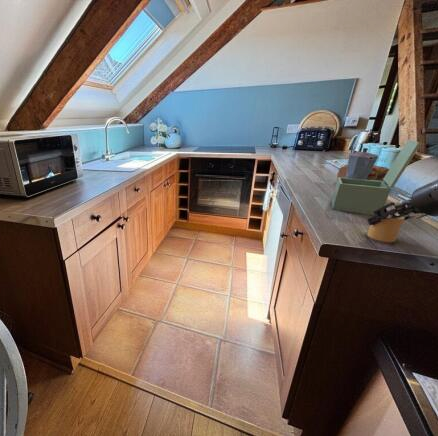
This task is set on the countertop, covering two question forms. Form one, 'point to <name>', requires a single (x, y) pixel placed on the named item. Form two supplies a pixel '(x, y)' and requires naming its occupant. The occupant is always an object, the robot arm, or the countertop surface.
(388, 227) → the tan cylinder
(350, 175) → the moka pot
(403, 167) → the bin lid
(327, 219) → the countertop surface
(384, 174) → the bread
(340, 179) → the bin
